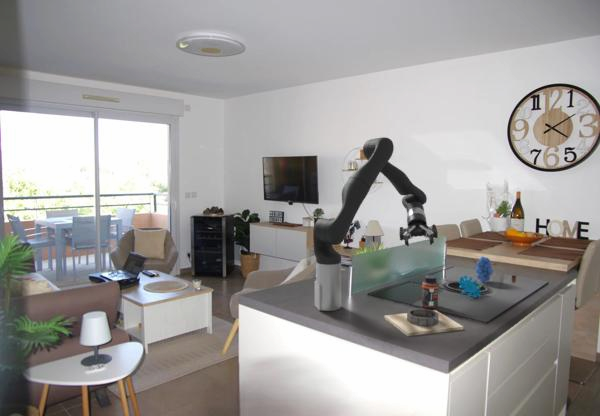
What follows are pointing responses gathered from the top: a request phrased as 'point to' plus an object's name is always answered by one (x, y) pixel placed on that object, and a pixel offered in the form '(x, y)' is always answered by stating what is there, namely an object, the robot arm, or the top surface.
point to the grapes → (484, 269)
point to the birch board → (411, 329)
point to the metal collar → (414, 319)
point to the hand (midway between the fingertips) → (419, 243)
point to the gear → (470, 287)
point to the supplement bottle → (430, 292)
